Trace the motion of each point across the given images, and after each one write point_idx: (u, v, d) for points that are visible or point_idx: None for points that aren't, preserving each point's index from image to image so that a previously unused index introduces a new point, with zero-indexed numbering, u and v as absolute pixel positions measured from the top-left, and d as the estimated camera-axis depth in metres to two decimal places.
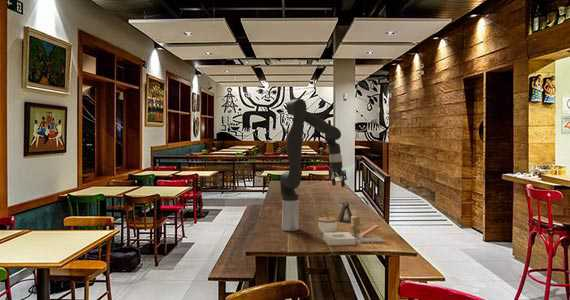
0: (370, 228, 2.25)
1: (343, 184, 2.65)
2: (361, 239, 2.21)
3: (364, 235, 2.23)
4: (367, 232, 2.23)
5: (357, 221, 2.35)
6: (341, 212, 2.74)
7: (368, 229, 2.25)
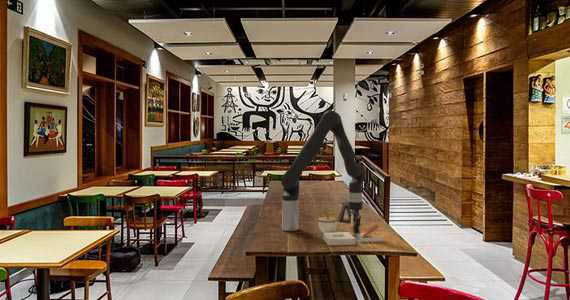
0: (370, 228, 2.25)
1: (356, 230, 2.33)
2: (361, 239, 2.21)
3: (364, 235, 2.23)
4: (367, 232, 2.23)
5: None
6: (341, 212, 2.74)
7: (368, 229, 2.25)
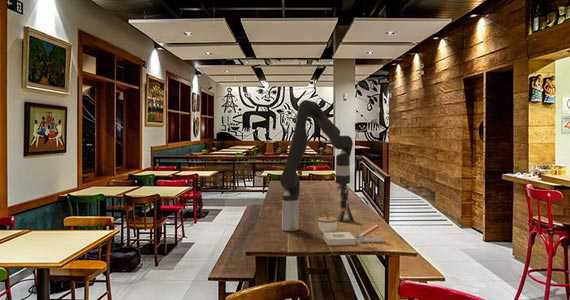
0: (370, 228, 2.25)
1: (343, 204, 2.22)
2: (361, 239, 2.21)
3: (364, 235, 2.23)
4: (367, 232, 2.23)
5: (344, 196, 2.23)
6: (341, 212, 2.74)
7: (368, 229, 2.25)
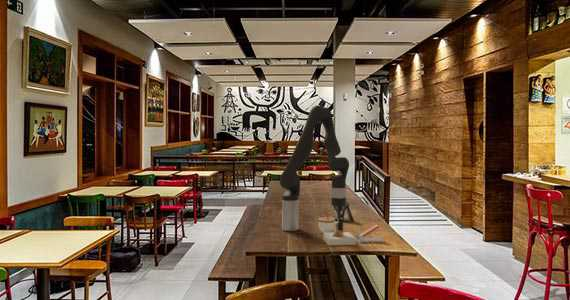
0: (370, 228, 2.25)
1: (339, 227, 2.18)
2: (361, 239, 2.21)
3: (364, 235, 2.23)
4: (367, 232, 2.23)
5: None
6: None
7: (368, 229, 2.25)
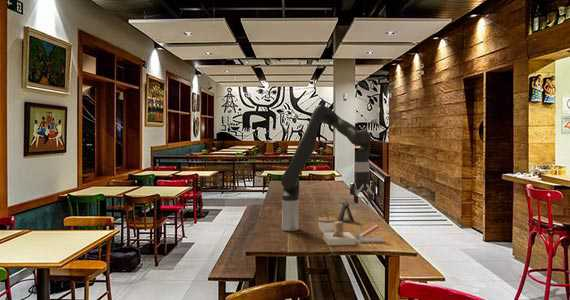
0: (370, 228, 2.25)
1: (354, 199, 2.20)
2: (361, 239, 2.21)
3: (364, 235, 2.23)
4: (367, 232, 2.23)
5: (340, 227, 2.21)
6: (341, 212, 2.74)
7: (368, 229, 2.25)
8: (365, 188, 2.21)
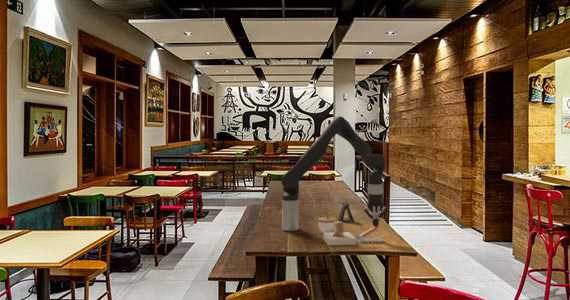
0: (370, 228, 2.25)
1: (372, 222, 2.25)
2: (361, 239, 2.21)
3: (364, 235, 2.23)
4: (367, 232, 2.23)
5: (340, 227, 2.21)
6: (341, 212, 2.74)
7: (368, 229, 2.25)
8: (375, 209, 2.23)
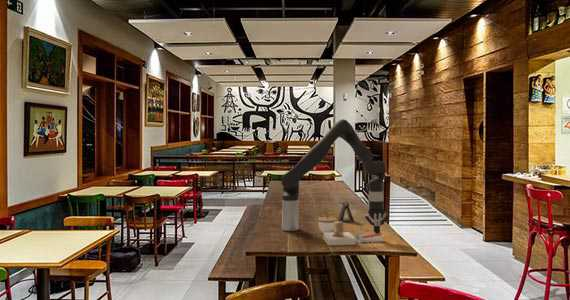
0: (372, 233, 2.25)
1: None
2: (361, 239, 2.21)
3: (364, 237, 2.23)
4: (368, 235, 2.23)
5: (340, 227, 2.21)
6: (341, 212, 2.74)
7: (370, 233, 2.25)
8: (376, 216, 2.23)
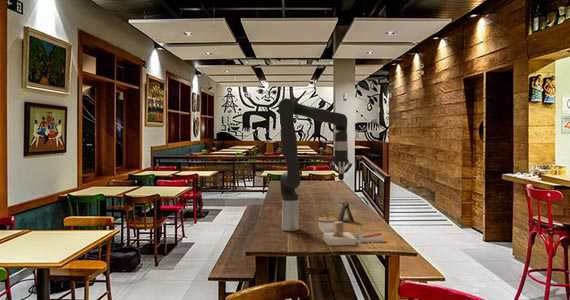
0: (372, 233, 2.25)
1: (338, 177, 2.44)
2: (361, 239, 2.21)
3: (364, 237, 2.23)
4: (368, 235, 2.23)
5: (340, 227, 2.21)
6: (341, 212, 2.74)
7: (370, 233, 2.25)
8: (341, 164, 2.43)
